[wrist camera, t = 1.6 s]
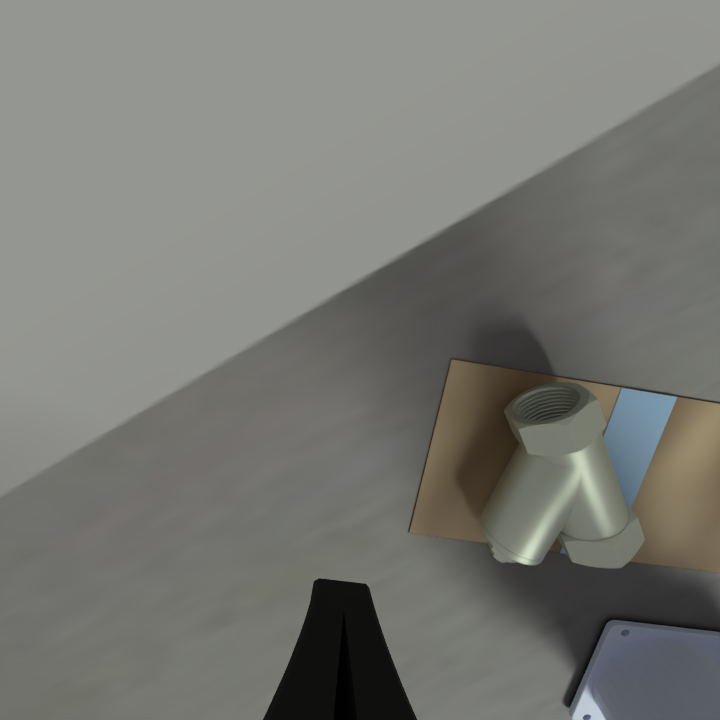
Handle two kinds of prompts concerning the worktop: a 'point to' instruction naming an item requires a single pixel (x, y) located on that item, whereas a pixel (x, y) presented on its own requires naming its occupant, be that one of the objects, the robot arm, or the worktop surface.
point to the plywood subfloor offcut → (625, 448)
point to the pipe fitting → (559, 485)
